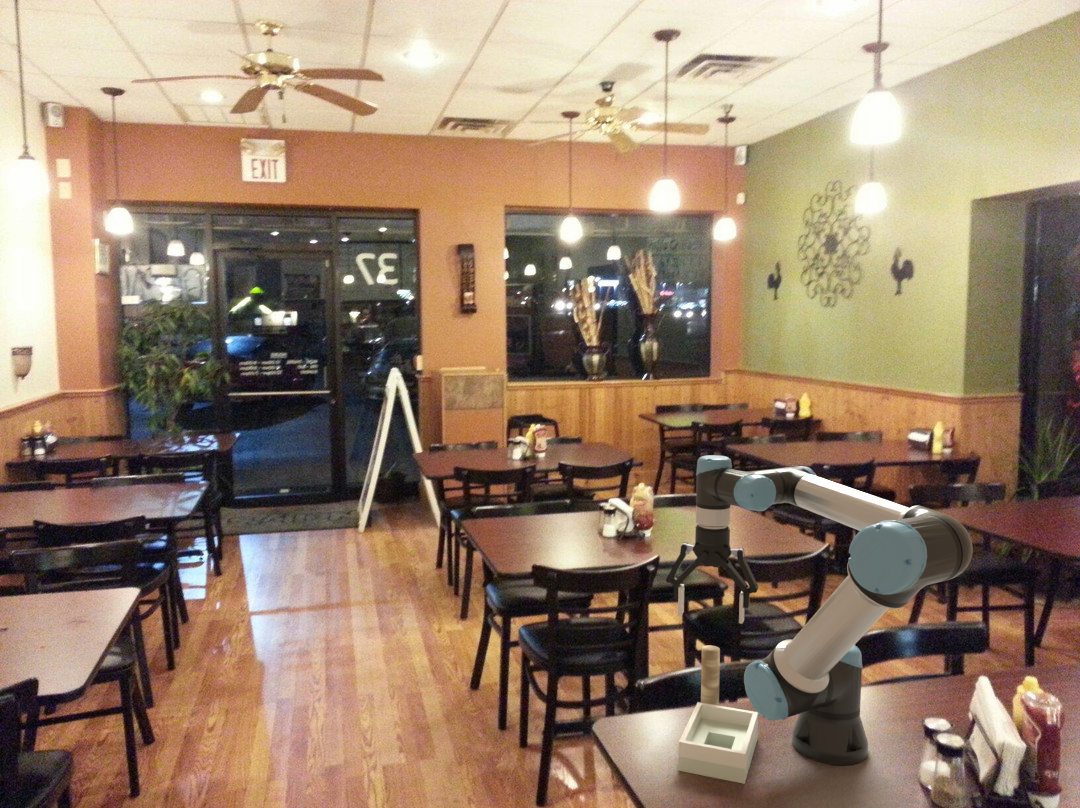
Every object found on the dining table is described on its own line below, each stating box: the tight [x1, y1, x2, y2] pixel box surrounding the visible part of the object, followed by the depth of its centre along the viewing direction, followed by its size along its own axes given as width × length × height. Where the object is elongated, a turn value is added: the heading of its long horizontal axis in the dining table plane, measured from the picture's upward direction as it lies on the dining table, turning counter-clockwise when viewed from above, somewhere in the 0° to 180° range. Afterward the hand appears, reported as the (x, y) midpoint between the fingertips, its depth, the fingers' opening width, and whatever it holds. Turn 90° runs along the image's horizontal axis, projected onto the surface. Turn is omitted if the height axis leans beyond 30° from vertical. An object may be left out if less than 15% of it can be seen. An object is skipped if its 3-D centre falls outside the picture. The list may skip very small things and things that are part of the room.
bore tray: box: [678, 701, 759, 785], centre depth 171 cm, size 13×19×6 cm
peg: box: [700, 644, 721, 706], centre depth 187 cm, size 4×4×16 cm
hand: (710, 617), depth 186 cm, fingers open, 13 cm apart
